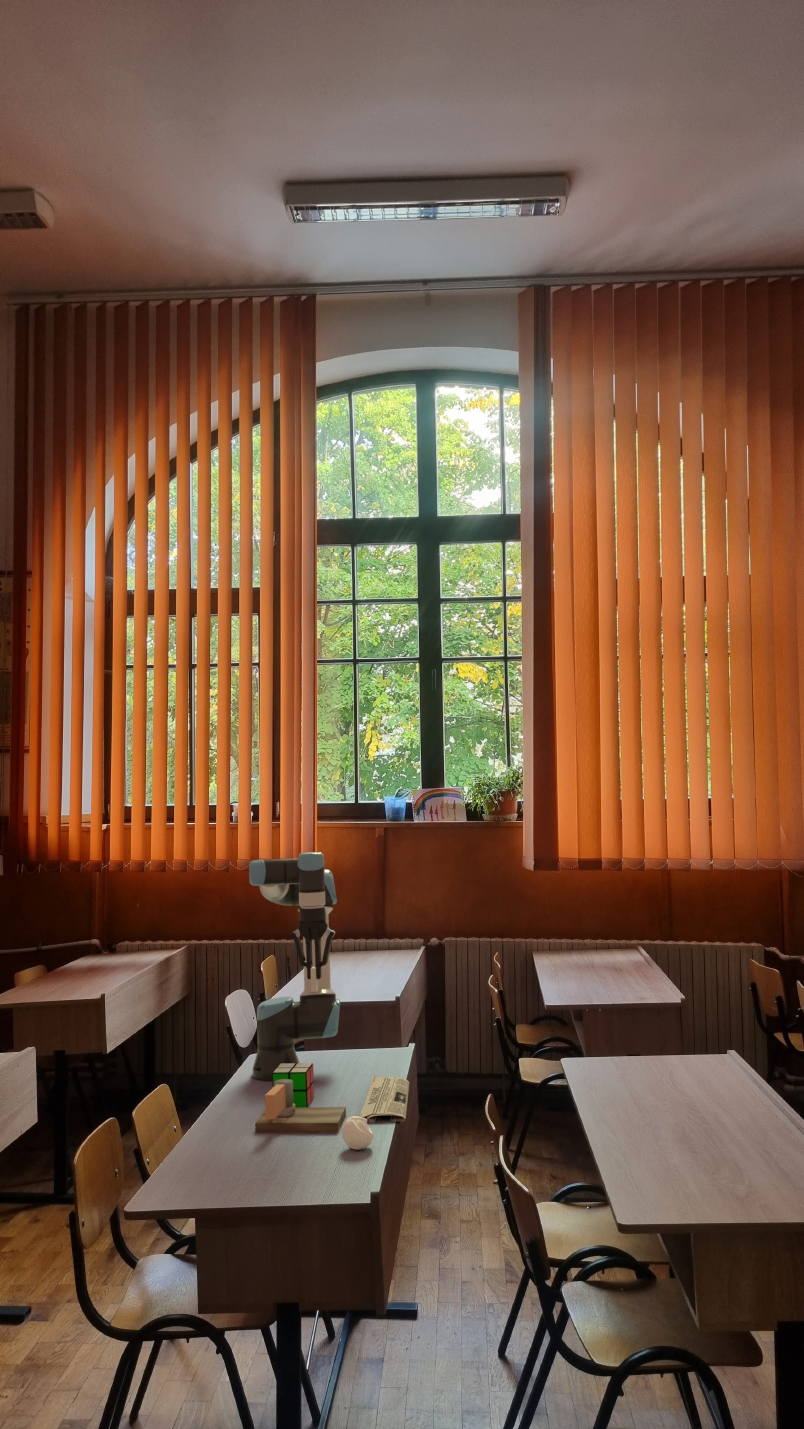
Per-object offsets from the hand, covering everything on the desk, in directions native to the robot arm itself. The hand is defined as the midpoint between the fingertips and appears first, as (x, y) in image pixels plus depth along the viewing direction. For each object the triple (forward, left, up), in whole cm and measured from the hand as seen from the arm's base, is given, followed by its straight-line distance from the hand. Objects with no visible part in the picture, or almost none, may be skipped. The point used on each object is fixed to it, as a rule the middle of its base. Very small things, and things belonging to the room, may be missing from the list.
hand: (314, 990), depth 275 cm
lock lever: (+17, -7, -28) cm, 33 cm away
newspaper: (-5, +19, -33) cm, 38 cm away
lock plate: (+14, -2, -32) cm, 35 cm away
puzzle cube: (-5, -8, -33) cm, 34 cm away
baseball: (+32, +16, -33) cm, 48 cm away
